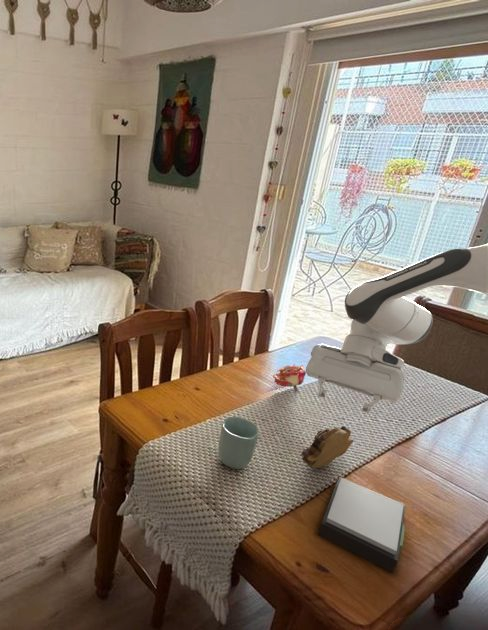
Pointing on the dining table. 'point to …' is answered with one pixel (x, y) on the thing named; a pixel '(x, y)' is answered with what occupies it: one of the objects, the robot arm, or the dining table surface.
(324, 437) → the wooden carving
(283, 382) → the flower
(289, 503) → the dining table surface
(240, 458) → the cup
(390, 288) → the robot arm
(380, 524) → the kitchen scale
